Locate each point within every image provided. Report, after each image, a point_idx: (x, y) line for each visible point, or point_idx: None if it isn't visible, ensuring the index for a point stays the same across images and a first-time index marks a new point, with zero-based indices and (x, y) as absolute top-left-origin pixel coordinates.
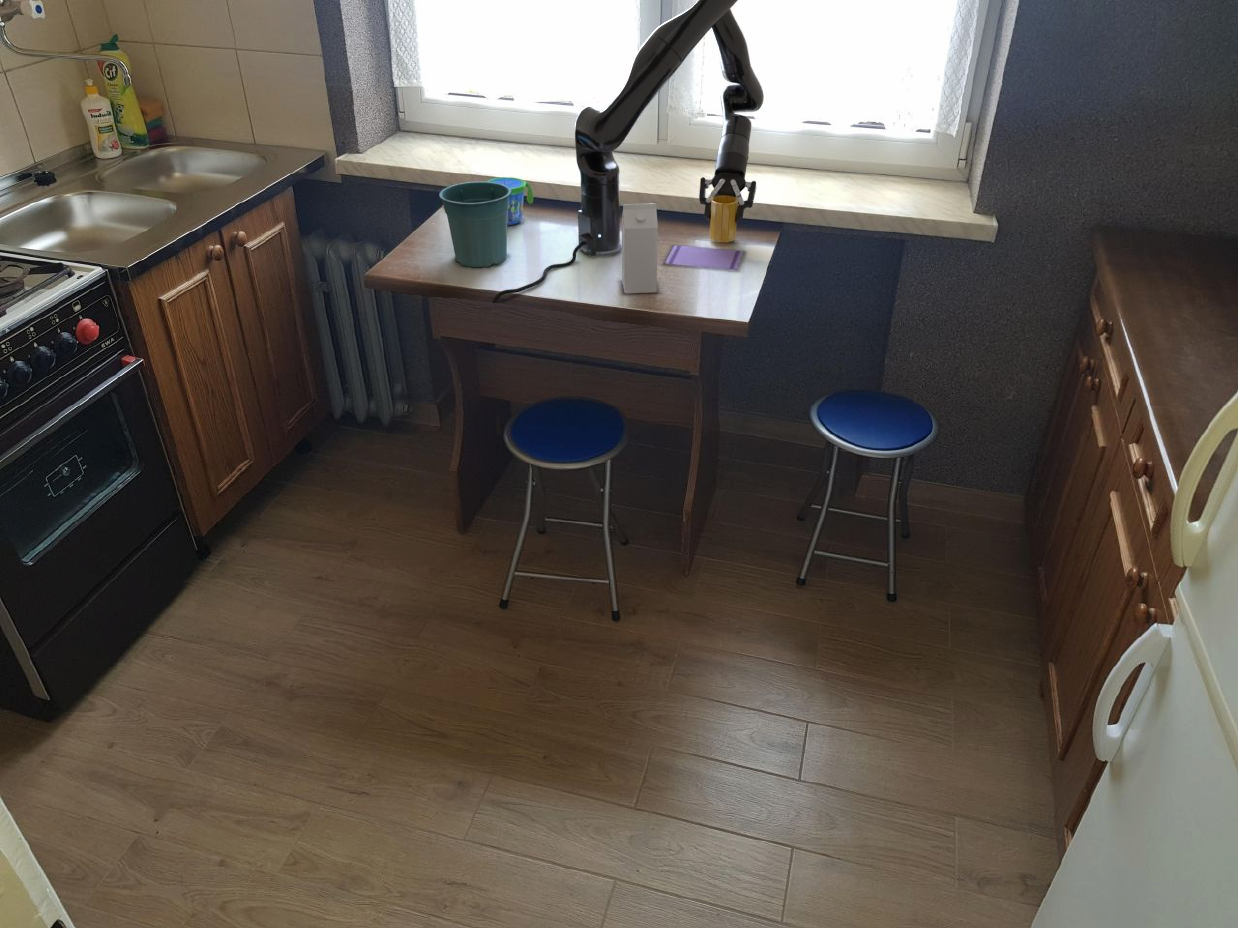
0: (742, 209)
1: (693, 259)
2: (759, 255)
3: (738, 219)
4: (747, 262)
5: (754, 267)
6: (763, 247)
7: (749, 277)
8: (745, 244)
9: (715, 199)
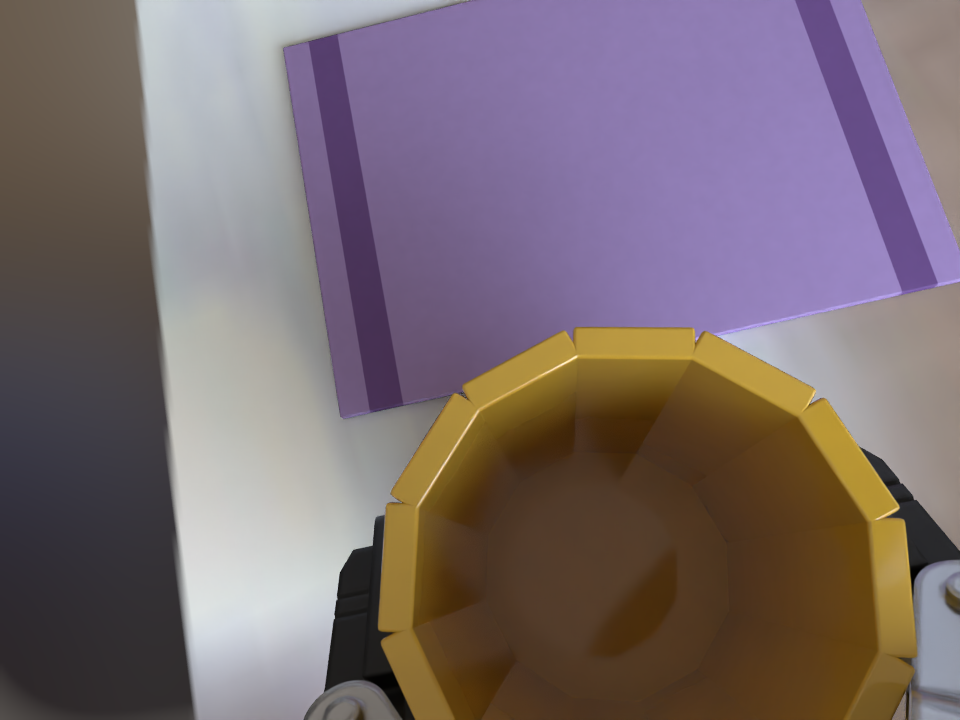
0: (342, 664)
1: (657, 70)
2: (200, 413)
3: (380, 516)
4: (255, 235)
5: (183, 171)
6: (209, 613)
7: (177, 3)
8: None
9: (855, 660)
